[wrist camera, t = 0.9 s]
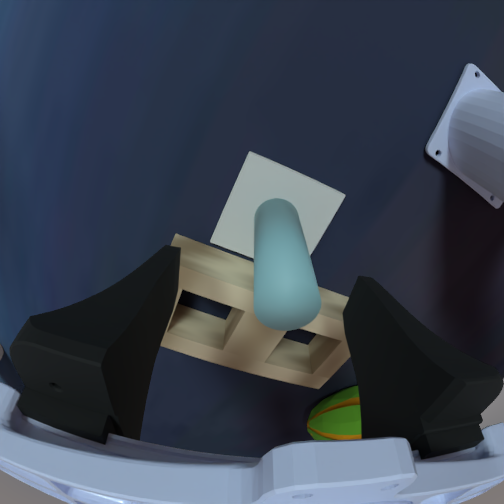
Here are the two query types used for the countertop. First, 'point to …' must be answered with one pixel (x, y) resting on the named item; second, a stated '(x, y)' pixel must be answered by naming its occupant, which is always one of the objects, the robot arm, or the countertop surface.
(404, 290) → the countertop surface
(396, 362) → the robot arm
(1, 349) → the spray can
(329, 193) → the mat
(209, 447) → the countertop surface
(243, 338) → the hole block
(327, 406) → the corn
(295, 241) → the peg
